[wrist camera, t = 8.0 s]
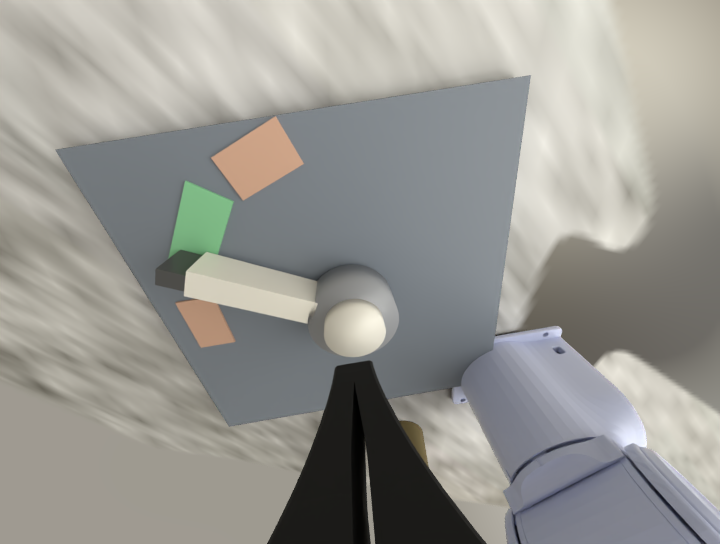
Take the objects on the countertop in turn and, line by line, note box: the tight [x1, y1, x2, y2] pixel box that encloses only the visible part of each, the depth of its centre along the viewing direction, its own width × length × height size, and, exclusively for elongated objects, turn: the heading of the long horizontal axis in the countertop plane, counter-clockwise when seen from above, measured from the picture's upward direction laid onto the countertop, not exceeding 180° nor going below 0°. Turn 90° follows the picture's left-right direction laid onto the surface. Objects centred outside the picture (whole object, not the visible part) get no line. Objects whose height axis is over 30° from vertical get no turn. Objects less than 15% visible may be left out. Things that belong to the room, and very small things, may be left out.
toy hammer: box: [155, 250, 399, 357], centre depth 16 cm, size 14×6×4 cm, turn 70°
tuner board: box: [56, 75, 531, 426], centre depth 19 cm, size 24×23×1 cm
